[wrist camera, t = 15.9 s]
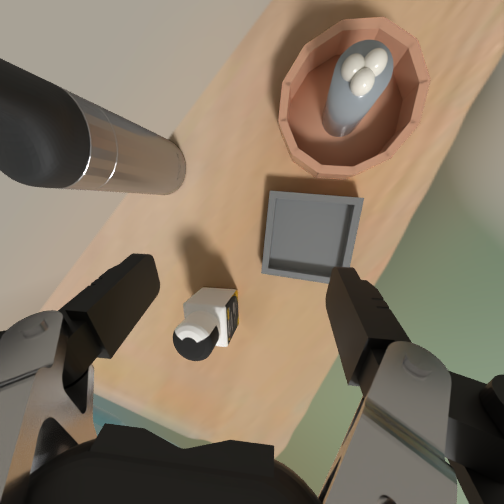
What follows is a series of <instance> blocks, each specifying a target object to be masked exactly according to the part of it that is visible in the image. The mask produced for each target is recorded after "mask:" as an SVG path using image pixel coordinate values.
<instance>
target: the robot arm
mask: <svg viewBox="0 0 504 504" xmlns="http://www.w3.org/2000/svg"><path fill="white" fill-rule="evenodd" d="M0 170H1V171H2V172H3V173H4V174H6V175H7V176H8V177H10V178H11V179H13V180H15V181H17V182H19V183H22V184H25V185H29V186H34V187H45V188H61V189H76V190H94V191H110V192H125V193H141V194H156V195H168V194H171V193H173V192H175V191H176V190H177V189H178V188H179V187H180V186H181V184H182V183H183V181H184V177H185V172H186V165H185V160H184V156H183V154H182V152H181V151H180V149H179V148H178V146H176V145H175V144H174V143H173V142H171V141H169V140H168V139H165V138H163V137H161V136H159V135H157V134H155V133H153V132H151V131H149V130H147V129H145V128H143V127H141V126H139V125H137V124H135V123H133V122H131V121H129V120H127V119H125V118H123V117H121V116H119V115H117V114H114V113H112V112H110V111H108V110H106V109H104V108H102V107H100V106H98V105H96V104H94V103H92V102H89V101H87V100H86V99H83V98H81V97H79V96H77V95H75V94H73V93H71V92H69V91H67V90H65V89H63V88H61V87H59V86H57V85H55V84H53V83H51V82H49V81H46V80H44V79H42V78H40V77H38V76H36V75H34V74H32V73H30V72H27V71H25V70H23V69H21V68H19V67H17V66H15V65H13V64H11V63H9V62H7V61H5V60H3V59H0ZM159 289H160V281H159V277H158V273H157V269H156V265H155V261H154V258H153V256H152V255H149V254H131V255H130V256H129V257H127V258H126V259H125V260H124V261H123V262H122V263H120V264H119V265H117V266H115V267H113V268H111V269H109V270H107V271H106V272H105V273H104V274H102V275H101V276H100V277H99V279H96V280H95V281H94V282H93V283H91V286H88V287H86V288H85V289H84V290H83V291H82V292H80V293H79V294H78V295H77V296H75V297H74V298H73V299H72V300H71V301H69V302H68V303H67V304H66V305H64V306H63V307H62V308H61V309H60V310H58V311H54V310H51V311H43V312H39V313H36V314H33V315H31V316H28V317H26V318H24V319H22V320H21V321H19V322H17V323H16V324H14V325H13V326H12V327H10V328H9V329H8V330H6V331H0V504H456V502H457V479H458V481H459V483H460V485H461V487H462V490H463V492H464V494H465V496H466V498H467V500H468V502H469V504H504V375H497V376H495V377H494V378H493V379H492V380H491V381H490V382H489V383H488V384H485V383H482V382H479V381H476V380H474V379H471V378H467V377H465V376H462V375H459V374H456V373H453V372H451V371H448V370H447V368H446V367H445V365H444V364H443V363H442V362H441V361H440V360H439V359H438V358H437V357H436V356H435V355H433V354H432V353H431V352H429V351H428V350H426V349H425V348H423V347H420V346H419V345H416V344H414V343H412V342H411V340H410V339H409V337H408V336H407V335H406V333H405V331H404V330H403V328H402V327H401V325H400V323H399V322H398V321H397V319H396V317H395V316H394V314H393V313H392V311H391V310H390V309H389V306H388V305H387V303H386V302H385V301H384V300H383V297H382V296H381V294H380V293H379V291H378V289H376V288H375V287H374V286H373V285H372V284H370V283H369V282H368V281H367V280H361V279H360V277H359V276H358V274H357V272H356V270H355V269H354V268H351V267H333V269H332V273H331V277H330V281H329V285H328V289H327V293H326V309H327V313H328V316H329V320H330V323H331V327H332V330H333V334H334V338H335V341H336V345H337V348H338V352H339V355H340V358H341V362H342V366H343V369H344V373H345V376H346V379H347V383H348V385H352V386H360V388H361V391H362V393H363V397H362V399H361V401H360V403H359V406H358V408H357V410H356V413H355V415H354V417H353V420H352V422H351V424H350V426H349V429H348V431H347V433H346V436H345V438H344V440H343V442H342V445H341V447H340V449H339V451H338V454H337V456H336V458H335V460H334V462H333V464H332V467H331V469H330V471H329V473H328V476H327V477H326V480H325V482H324V484H323V486H322V489H321V491H320V494H319V496H318V497H317V496H316V495H315V493H314V492H313V491H312V489H311V488H310V487H309V486H308V485H307V484H306V483H305V482H304V480H302V479H301V478H300V477H299V476H298V475H297V474H296V473H295V472H294V471H293V470H291V469H290V468H288V467H287V466H285V465H284V464H283V463H280V462H279V461H277V460H275V459H274V446H273V445H265V444H258V443H250V442H243V441H235V440H227V441H222V442H217V443H212V444H207V445H202V446H198V447H193V448H188V449H182V448H179V447H177V446H175V445H173V444H171V443H170V442H168V441H166V440H164V439H162V438H161V437H159V436H157V435H155V434H153V433H152V432H150V431H148V430H146V429H144V428H137V427H129V426H121V425H114V424H106V423H105V424H104V426H103V428H102V429H101V431H100V433H99V435H98V436H97V435H96V431H95V428H94V424H93V388H94V367H93V365H92V363H93V361H94V360H95V359H96V358H97V357H98V358H108V359H111V358H112V357H113V355H114V354H115V352H116V351H117V350H118V348H119V347H120V346H121V344H122V343H123V341H124V340H125V339H126V337H127V336H128V335H129V333H130V332H131V331H132V329H133V328H134V326H135V325H136V324H137V322H138V321H139V320H140V318H141V317H142V315H143V314H144V313H145V311H146V310H147V309H148V307H149V306H150V305H151V303H152V302H153V300H154V299H155V298H156V296H157V295H158V293H159ZM445 457H446V458H448V460H449V463H450V464H448V463H447V462H445ZM456 477H457V478H456Z"/></svg>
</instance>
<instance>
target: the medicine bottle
mask: <svg viewBox="0 0 504 504" xmlns="http://www.w3.org/2000/svg"><path fill="white" fill-rule="evenodd" d="M183 307H184V316H185V319H184V320H183V321H182V322H181V323H180V324H179V325H178V326H177V327H176V329H175V330H174V333H173V343H174V346H175V348H176V350H177V351H178V353H179V354H180V355H182V356H183V357H184V358H186V359H188V360H192V361H201V360H204V359H206V358H207V357H208V356H209V355H210V354H211V352H212V350H213V349H214V347H215V346H221V347H227V346H228V344H229V342H230V340H231V338H232V336H233V334H234V332H235V330H236V328H237V326H238V324H239V315H238V291H237V290H236V289H223V288H208V287H202V288H201V289H200V290H199V291H197V292H196V293H195V294H194V295H193V296H192V297H190V298H189V299H188V300H187V301H186V302H185V303H184V304H183Z"/></svg>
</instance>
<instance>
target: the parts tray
mask: <svg viewBox="0 0 504 504" xmlns="http://www.w3.org/2000/svg"><path fill="white" fill-rule="evenodd" d="M363 200H364V198H356V197H344V196H331V195H319V194H306V193H294V192H281V191H270V194H269V204H268V213H267V223H266V233H265V243H264V252H263V262H262V272H261V273H262V274H269V275H275V276H282V277H288V278H295V279H301V280H308V281H314V282H321V283H327V284H329V281H330V277H331V273H332V269H333V267H350V263H351V258H352V253H353V249H354V244H355V239H356V234H357V229H358V225H359V220H360V215H361V210H362V205H363Z"/></svg>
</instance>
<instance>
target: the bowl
mask: <svg viewBox="0 0 504 504" xmlns="http://www.w3.org/2000/svg"><path fill="white" fill-rule="evenodd" d="M363 40H377V41H379V42H381V43H383V44H384V45H386V46H387V48H388V49H389V50H390V52H391V54H392V57H393V73H392V77H391V79H390V82H389V83H388V85H387V87H386V88H385V90H384V91H383V92H382V94H381V95H380V96H379V98H378V99H377V100H376V102H375V103H374V104H373V106H372V107H371V108H370V110H369V111H368V112H367V114H366V115H365V116H364V118H363V119H362V121H361V122H360V123H359V125H358V126H357V127H356V128H355V130H354V131H353V132H351V133H350V134H348V135H346V136H343V137H334V136H331V135H329V134H328V133H327V132H326V131H325V129H324V128H323V125H322V115H323V111H324V107H325V103H326V99H327V95H328V92H329V88H330V84H331V80H332V76H333V73H334V69H335V66H336V63H337V61H338V60H339V58H340V56H341V55H342V54H343V53H344V52H345V50H347V49H348V48H349V47H350V46H352V45H353V44H355V43H357V42H359V41H363ZM430 81H431V80H430V76H429V73H428V69H427V66H426V63H425V60H424V57H423V54H422V50H421V47H420V44H419V41H418V40H417V38H416V37H414V36H413V35H411V34H410V33H408V32H407V31H405V30H404V29H402V28H401V27H399V26H398V25H396V24H395V23H393V22H392V21H390V20H389V19H387V18H386V17H371V18H357V19H342V20H340V21H339V22H337V23H336V24H335V25H333V26H332V27H330V28H329V29H327V30H326V31H324V32H323V33H321V34H320V35H318V36H317V37H315V38H314V39H312V40H311V41H309V42H308V43H306V44H305V45H304V47H303V48H302V50H301V52H300V53H299V55H298V57H297V58H296V60H295V62H294V63H293V65H292V67H291V68H290V70H289V72H288V73H287V75H286V77H285V78H284V80H283V83H282V90H281V99H280V109H279V118H278V122H279V126H280V130H281V134H282V137H283V139H284V142H285V144H286V147H287V149H288V151H289V154H290V156H291V159H292V161H293V162H294V163H296V164H297V165H298V166H300V167H301V168H303V169H304V170H305V171H307V172H308V173H310V174H311V175H312V176H314V177H316V178H327V179H343V180H345V179H348V178H350V177H352V176H355V175H357V174H359V173H361V172H363V171H365V170H368V169H370V168H372V167H374V166H376V165H378V164H380V163H382V162H384V161H386V160H388V159H390V158H392V156H393V155H394V154H395V153H396V152H397V150H398V149H399V148H400V147H401V146H402V144H403V143H404V142H405V141H406V140H407V138H408V137H409V136H410V135H411V134H412V133H413V131H414V130H415V129H416V128H417V127H418V125H419V124H420V121H421V117H422V113H423V109H424V105H425V101H426V97H427V93H428V89H429V85H430Z"/></svg>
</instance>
